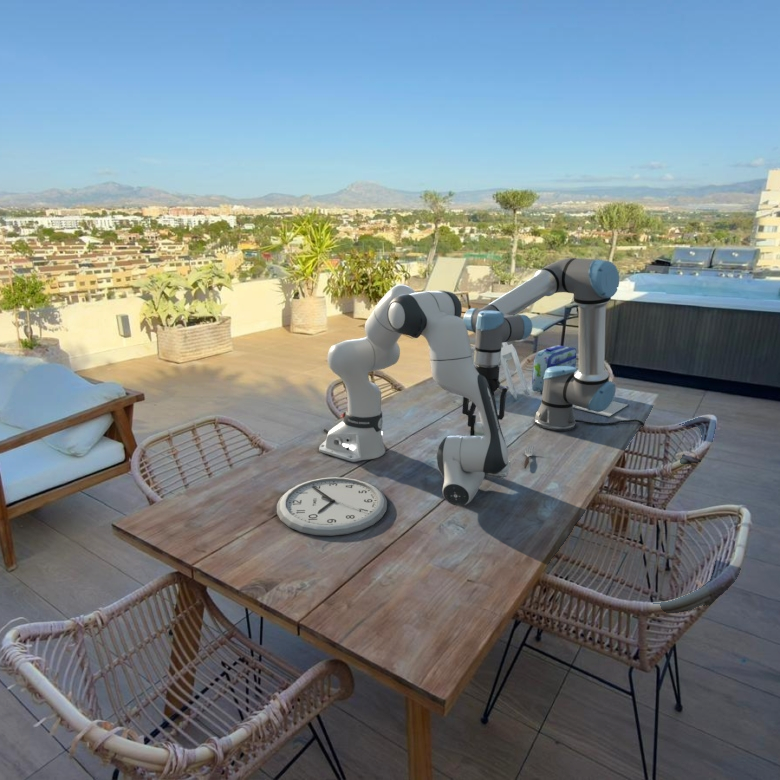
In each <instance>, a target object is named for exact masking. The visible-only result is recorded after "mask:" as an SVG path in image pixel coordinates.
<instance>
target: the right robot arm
mask: <svg viewBox="0 0 780 780" xmlns="http://www.w3.org/2000/svg"><path fill="white" fill-rule="evenodd" d="M619 285H620V273H619V270H618V267H617V266H616V265H615V264H614V263H613V262H612V261H609V260H604V259H600V258H598V259H597V258H594V259H593V258H576V257H568V258H563V259H560V260H557V261H555V262H552V263H550V264H548V265H546V266H544V267H542V268H540V269H538V270H537V271H536V272H534V275H533V277H531V278H529V279H528V280H526V281H525V282H523V283H522V284H520V285H518V286H516V287H515V288H513V289H512V290H510V291H508V292H506V293H505V294H503V295H501V296H500V297H498V298H497V299H495V300H492V302H490V303H488V304H486V305H485V306H483V307H482V308H478V307H476V308H473V307H472V308H469V309H467V310H466V312H465V313H464V315H463V318H462V319H463V321H464V322H465V324H466V327H467V331H468V332H472V333H474V334H475V342H474V343H475V344H474V346H475V354H474V363H475V365H474V366H475V368H476V370H477V372H478V373H479V374H480V375H482V376H484V377H485V378H486V380H487V382H488V384H489V387H490V390H491V394H492V397H493V401H494V405H495V408H496V412H497V416H498V420H499V421H502V420H503V419H504V417H505V410H506V398H507V392H508V391H509V387H508V385H505V386H504V385H503V384H501V382H500V368H501V367H500V366H499V364H500V357H501V348H502V346H503V345H502V343H503V342H507V343H510V342H517V341H518V342H519V341H522V340H525V339H527V338H529V337H530V335H531V334H532V332H533V322H532V320H531V319H530V317H529V316H527V315H526V314H519V313H521V312H523V310H526V309H527V308H528V307H530V306H532V305H533V304H536V302H539V300H541V299H543V298H545V297H550V296H553V295H555V294H557V293H567V294H572V295H573V302H574V304H576V306H578V368H577V367H576V366H575V367H571V366H555V367H549V368H547V369H546V370H545V375H544V378H543V379H544V381H543V391H542V394H541V402H540V405H539V407H538V410H537V411H536V413H535V416H534V424H535V425H536V426H537V427H539V428H542V429H544V430H549V431H556V432H567V431H572V430H574V429H575V428H576V423H580V424H587V425H594V426H595V425H597V426H612V425H613V426H614V425H617V424H621V423H639V424H640V425H642V426H645V423H644V422H643V421H641V420H639V419H622V420H621V419H620V420H616V421H612V422H594V421H587V420H580V419H576V418H575V417H576V416H575V413H574V407H573V406H575V407H576V406H579V407H582V408H585V409H588V410H592V411H596V412H601V411H603V410H605V409H606V408H607V407H608V406H609V405H610V404H611V402H612V401H614V398H615V395H616V390H617V388H616V384H615V383H614V382H613V381H610V379H609V378H610V375H609V371H607V370H606V368H605V359H606V358H605V356H606V355H605V354H606V353H605V352H606V316H607V315H606V314H607V313H606V311H607V304H609V302H610V301H612V297H614V296H615V295H616V293H617V291H618V288H619ZM498 389H499V391H498V392H499V393H500V395H499V405H498V406H499V408H498V407H497V402H496V395H495V393H496V391H497V390H498ZM469 403H470V400H469V399H467V398H465V397H463V396H462V412H461V413H462V414H463V415H466V416H467V427H470V431H469V436H474V423H475V422H477V421H476V420H477V419H476V418H477V415H475V411H476V409H477V407H476V405H475V404H474V403H473V402H472V401H471V404H469ZM469 405H470V408H469Z"/></svg>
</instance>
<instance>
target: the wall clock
mask: <svg viewBox="0 0 780 780" xmlns="http://www.w3.org/2000/svg"><path fill="white" fill-rule="evenodd" d="M387 509H388V500H387V498H386V496H385V494H384V493H383V492H382V491H381V490H380V489H379V488H377V487H376V486H374V485H372V484H371V483H369V482H365V481H362V480H359V479H355V478H349V477H338V476H337V477H335V476H333V477H332V476H331V477H322V478H317V479H312V480H307V481H305V482H302V483H299V484H297V485H295V486H293V487H292V488H290V489H288V490H287V491H286V492H285V493H284V494H283V495H281V496H280V498H279V499H278V502H277V503H276V515H277V517H278V518H279V520H280V521H281V522H282V523H283V524H285V525H286V526H287V527H288V528H290V529H293V530H295V531H297V532H299V533H303V534H308V535H312V536H327V537H328V536H329V537H331V536H332V537H333V536H342V535H350V534H352V533H356V532H361V531H363V530H366V529H368V528H369V527H372V526H373V525H375V524H376V523H378V522H379V521H380V520H381V519H382V518H383V517H384V516H385V514H386V512H387Z"/></svg>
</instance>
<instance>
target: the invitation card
mask: <svg viewBox="0 0 780 780" xmlns="http://www.w3.org/2000/svg"><path fill="white" fill-rule="evenodd" d="M628 406H629V404H627V403H623V402H618V401H614V400H612V402H611V404H610V405H609V406H608V407H607V408H606V409H605V410H603V411H601V412H596V411H592V410H588V409H585V408H582V407H579V406H576V405H575V406H574V407H573V409H575V410H581V411H584V412H587V413H593V414H596V415H600V416H604V417H608V418H609V417H611V416H613V415H614V414H616V413H617V412H619V411H621V410H623V409H624V408H626V407H628Z"/></svg>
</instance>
